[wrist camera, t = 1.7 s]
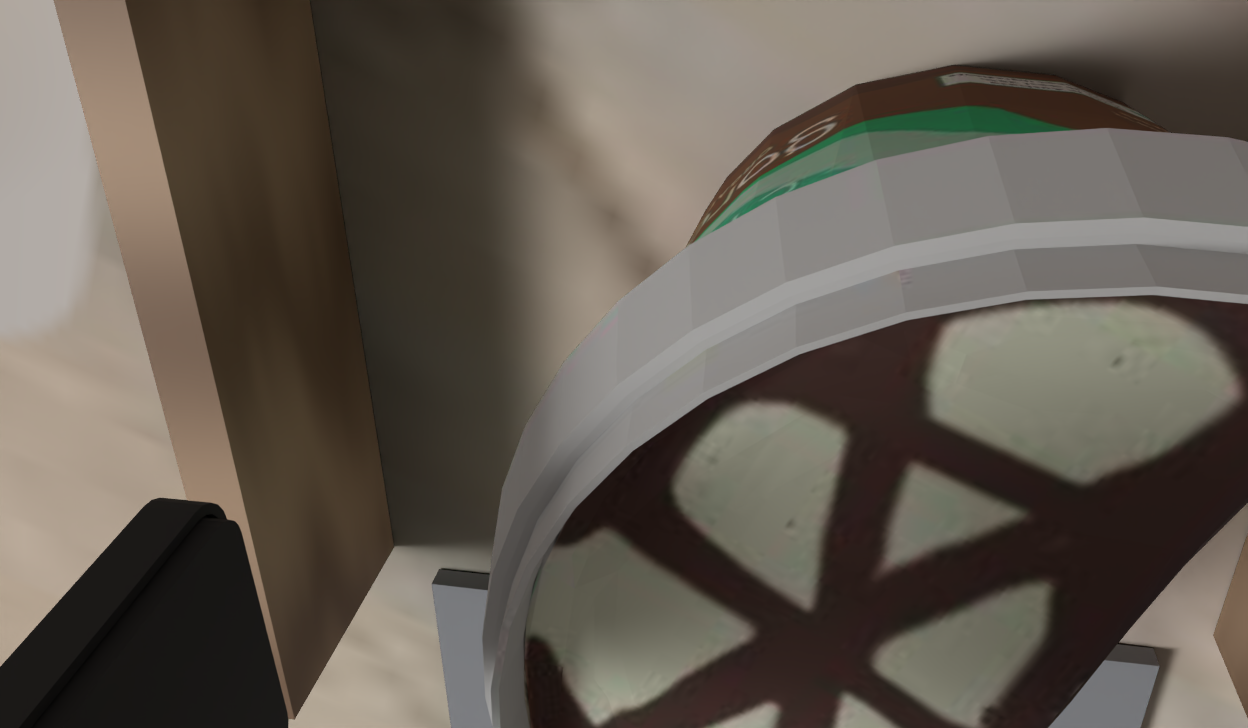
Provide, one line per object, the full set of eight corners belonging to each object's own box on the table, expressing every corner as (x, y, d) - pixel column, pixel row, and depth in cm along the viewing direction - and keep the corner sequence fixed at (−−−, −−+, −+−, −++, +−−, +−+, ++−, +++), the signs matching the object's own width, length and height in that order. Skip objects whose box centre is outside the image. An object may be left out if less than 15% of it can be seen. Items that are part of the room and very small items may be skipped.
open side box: (1268, 641, 21) (1376, 868, 17) (351, 542, 24) (243, 712, 20) (1634, -337, 13) (2018, -384, 9) (202, -295, 16) (-30, -313, 12)
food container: (819, -181, 15) (782, -106, 7) (1188, 13, 16) (1592, 312, 7) (520, 437, 22) (306, 876, 13) (788, 565, 22) (750, 1073, 14)
